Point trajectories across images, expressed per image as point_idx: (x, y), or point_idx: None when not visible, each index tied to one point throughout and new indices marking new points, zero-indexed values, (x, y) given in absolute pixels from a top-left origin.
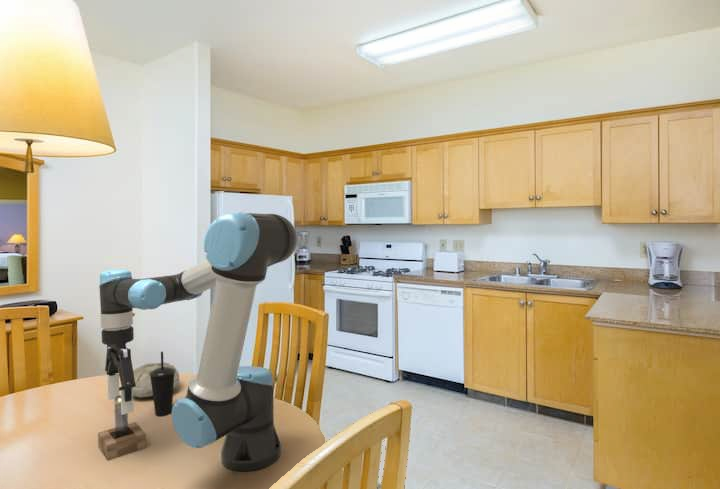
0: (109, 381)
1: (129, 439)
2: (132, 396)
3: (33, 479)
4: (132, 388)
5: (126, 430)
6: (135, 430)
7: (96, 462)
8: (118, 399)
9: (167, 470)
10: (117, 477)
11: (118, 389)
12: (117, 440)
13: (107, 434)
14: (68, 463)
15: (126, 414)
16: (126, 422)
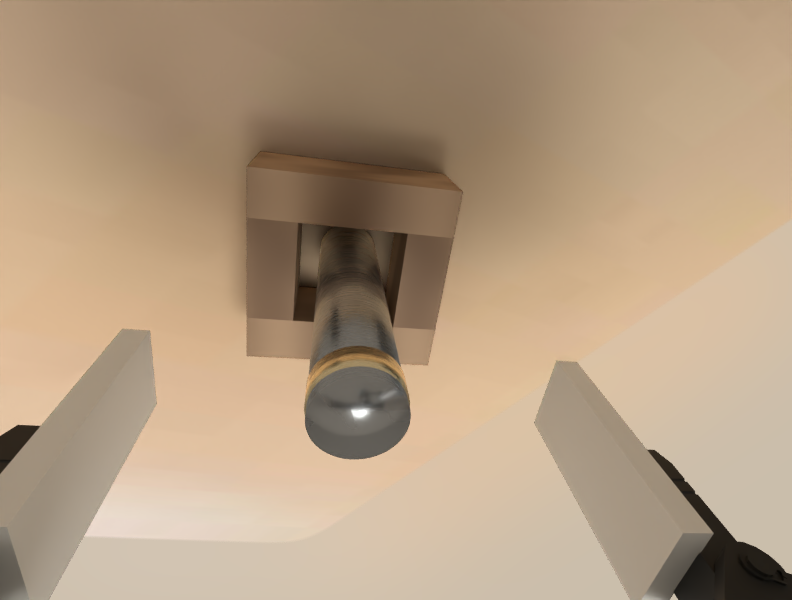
0: (73, 545)
1: (444, 272)
2: (646, 454)
3: (347, 500)
4: (700, 521)
5: (378, 271)
6: (377, 216)
7: None
8: (396, 442)
9: (699, 201)
10: (566, 340)
11: (117, 384)
12: (417, 320)
13: (306, 331)
14: None
15: (384, 313)
16: (381, 290)
